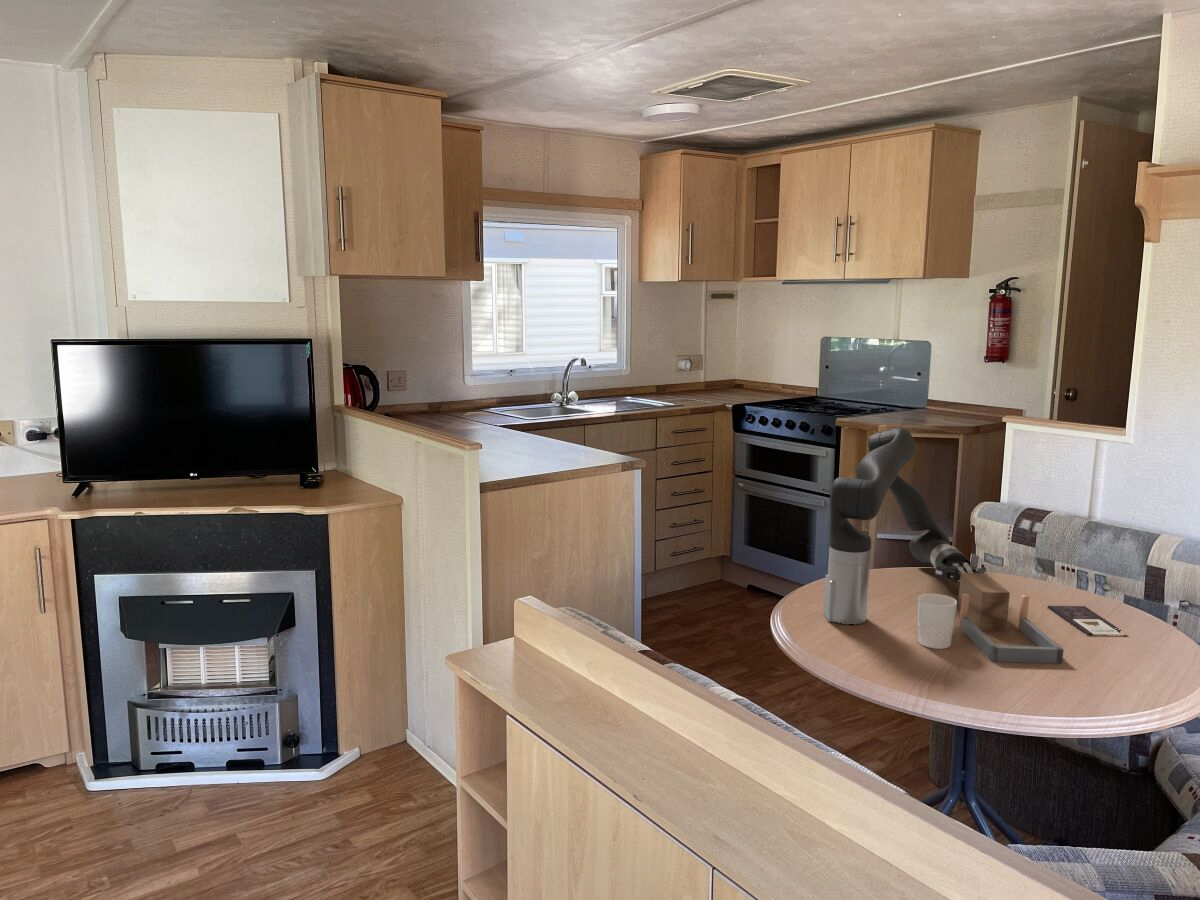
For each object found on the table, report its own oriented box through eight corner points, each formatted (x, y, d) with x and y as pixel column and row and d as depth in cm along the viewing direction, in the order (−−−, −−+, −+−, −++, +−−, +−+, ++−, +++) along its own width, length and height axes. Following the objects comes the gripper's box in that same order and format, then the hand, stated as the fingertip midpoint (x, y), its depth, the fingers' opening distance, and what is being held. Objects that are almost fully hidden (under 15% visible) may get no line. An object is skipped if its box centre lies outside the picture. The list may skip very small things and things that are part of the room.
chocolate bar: (1084, 606, 220) (1127, 634, 202) (1084, 609, 220) (1126, 638, 202) (1047, 605, 220) (1087, 633, 202) (1047, 609, 220) (1086, 637, 202)
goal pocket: (990, 661, 187) (993, 624, 186) (958, 626, 206) (960, 593, 205) (1063, 663, 187) (1067, 626, 185) (1024, 628, 206) (1027, 595, 204)
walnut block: (979, 630, 205) (982, 592, 203) (957, 608, 219) (960, 572, 217) (1006, 630, 205) (1009, 592, 203) (983, 609, 218) (986, 573, 217)
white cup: (947, 637, 200) (951, 594, 199) (957, 651, 193) (961, 606, 191) (911, 635, 201) (914, 592, 199) (919, 649, 193) (923, 604, 192)
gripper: (924, 547, 234) (946, 567, 217) (976, 548, 233) (1002, 568, 216) (922, 575, 235) (944, 597, 218) (974, 576, 235) (1000, 598, 218)
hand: (973, 583), depth 217 cm, fingers closed
